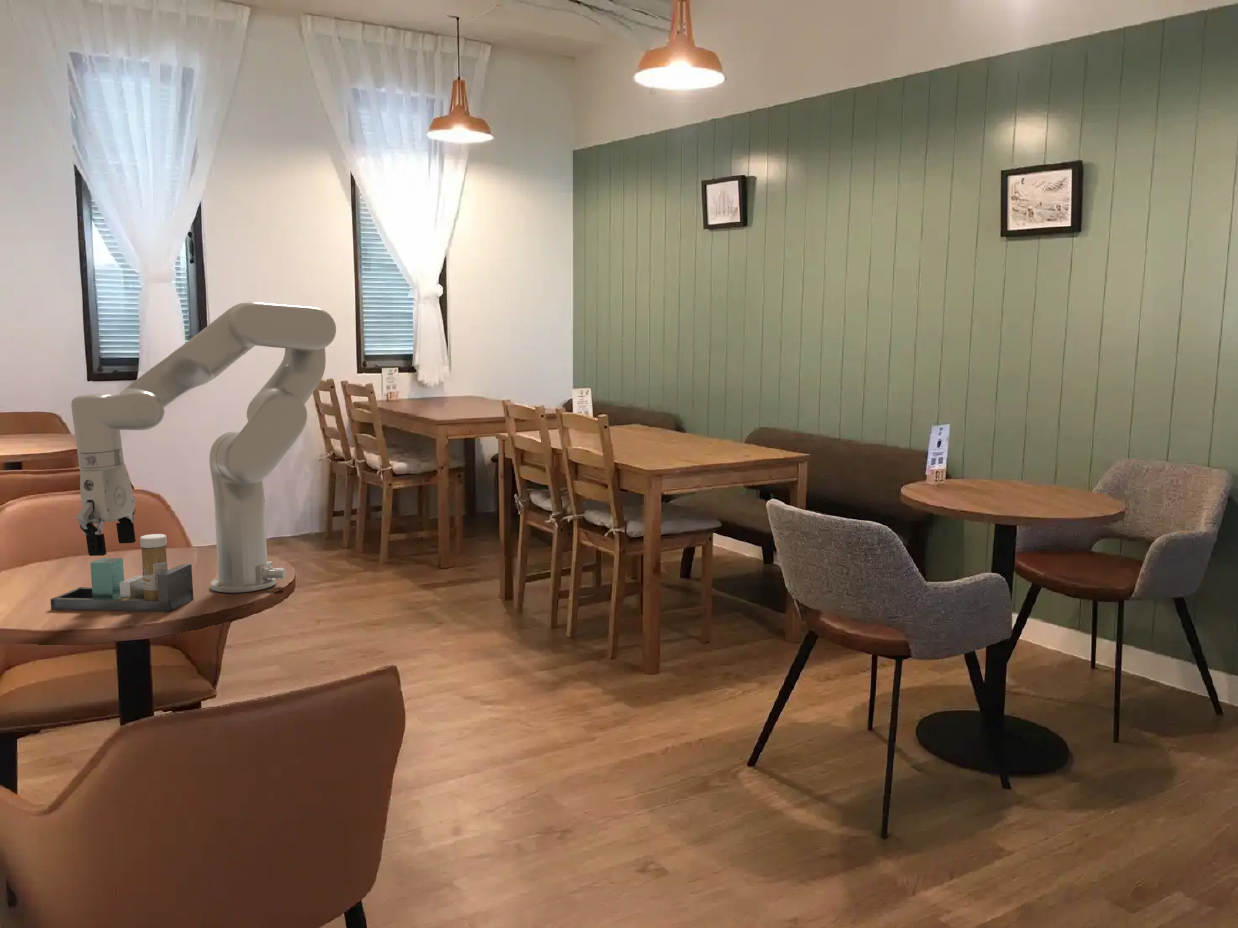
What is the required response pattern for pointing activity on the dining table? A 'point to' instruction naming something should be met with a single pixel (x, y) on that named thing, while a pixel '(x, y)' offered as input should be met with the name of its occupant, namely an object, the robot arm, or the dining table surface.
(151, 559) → the sprinkles bottle
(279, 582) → the dining table surface
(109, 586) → the press carriage
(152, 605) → the frame
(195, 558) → the dining table surface
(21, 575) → the dining table surface
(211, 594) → the dining table surface
